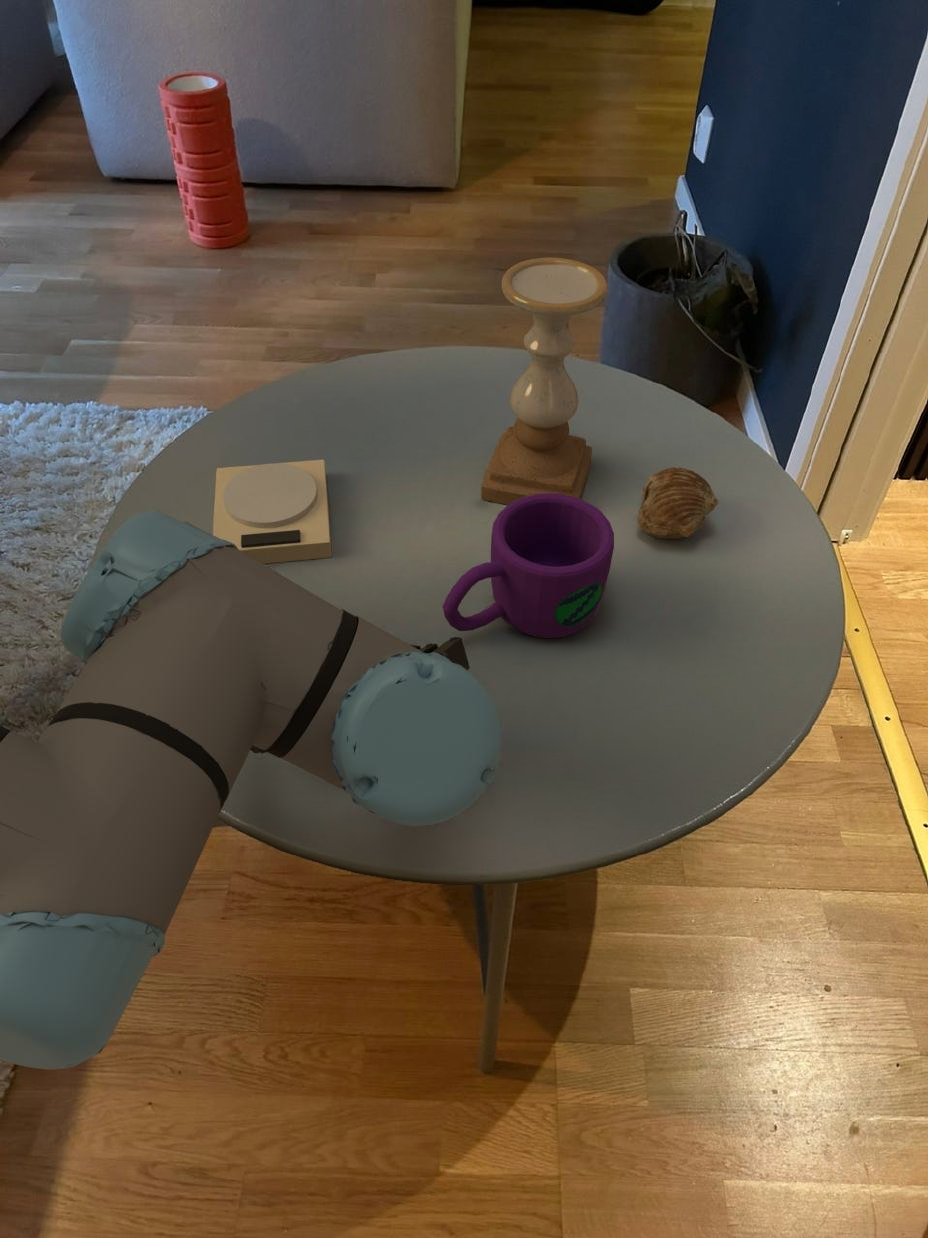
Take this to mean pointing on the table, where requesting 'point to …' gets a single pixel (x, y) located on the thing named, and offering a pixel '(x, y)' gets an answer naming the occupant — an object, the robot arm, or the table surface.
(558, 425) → the candle holder
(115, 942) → the robot arm
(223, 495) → the kitchen scale
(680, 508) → the seashell
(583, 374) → the table surface
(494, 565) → the mug
